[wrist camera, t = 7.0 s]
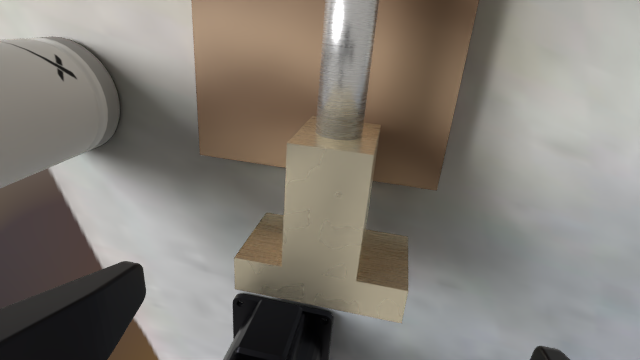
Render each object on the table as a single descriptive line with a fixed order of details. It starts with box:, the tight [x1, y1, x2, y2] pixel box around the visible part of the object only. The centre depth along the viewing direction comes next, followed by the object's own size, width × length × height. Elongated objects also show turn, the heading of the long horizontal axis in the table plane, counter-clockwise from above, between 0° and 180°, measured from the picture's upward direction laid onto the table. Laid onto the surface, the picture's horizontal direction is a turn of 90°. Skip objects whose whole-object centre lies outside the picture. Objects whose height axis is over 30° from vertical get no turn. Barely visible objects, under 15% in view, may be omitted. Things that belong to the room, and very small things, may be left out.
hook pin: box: [234, 0, 408, 323], centre depth 15 cm, size 14×7×4 cm, turn 176°
